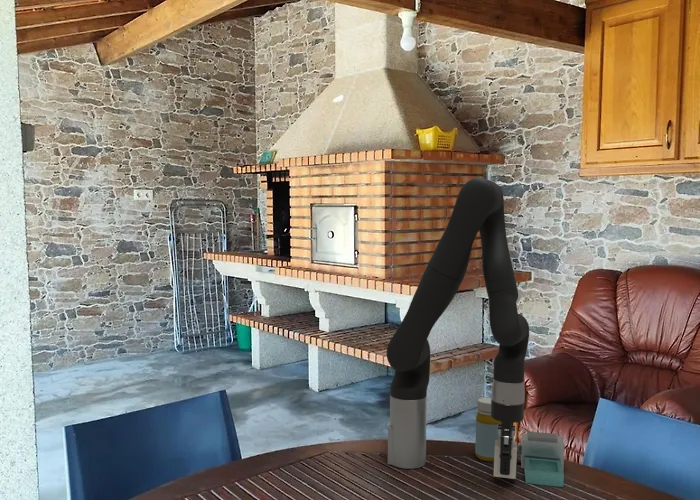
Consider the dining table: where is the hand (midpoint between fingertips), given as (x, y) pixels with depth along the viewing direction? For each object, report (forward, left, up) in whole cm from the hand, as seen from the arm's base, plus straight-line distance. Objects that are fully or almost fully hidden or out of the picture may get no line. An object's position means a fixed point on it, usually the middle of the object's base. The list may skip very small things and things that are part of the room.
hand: (504, 469), depth 147 cm
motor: (+8, +8, -3) cm, 11 cm away
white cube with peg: (0, 0, -1) cm, 1 cm away
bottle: (-4, +14, -3) cm, 15 cm away
